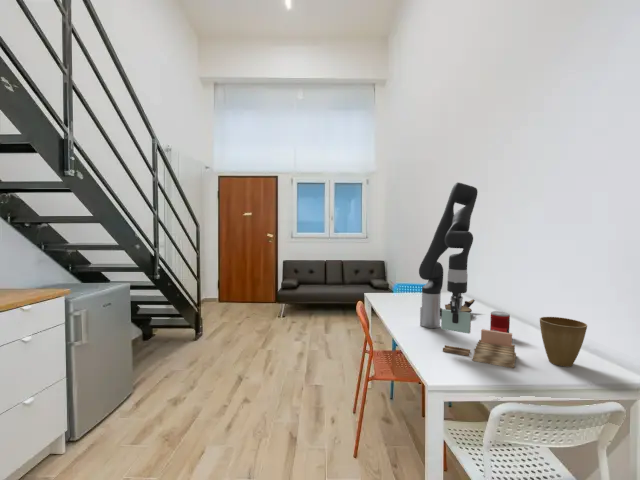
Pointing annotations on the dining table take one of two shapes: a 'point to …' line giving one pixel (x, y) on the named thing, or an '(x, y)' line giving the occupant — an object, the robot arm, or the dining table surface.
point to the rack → (495, 354)
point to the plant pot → (562, 339)
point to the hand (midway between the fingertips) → (455, 322)
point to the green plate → (461, 326)
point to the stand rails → (456, 350)
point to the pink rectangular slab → (496, 337)
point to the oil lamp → (463, 309)
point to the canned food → (500, 321)
